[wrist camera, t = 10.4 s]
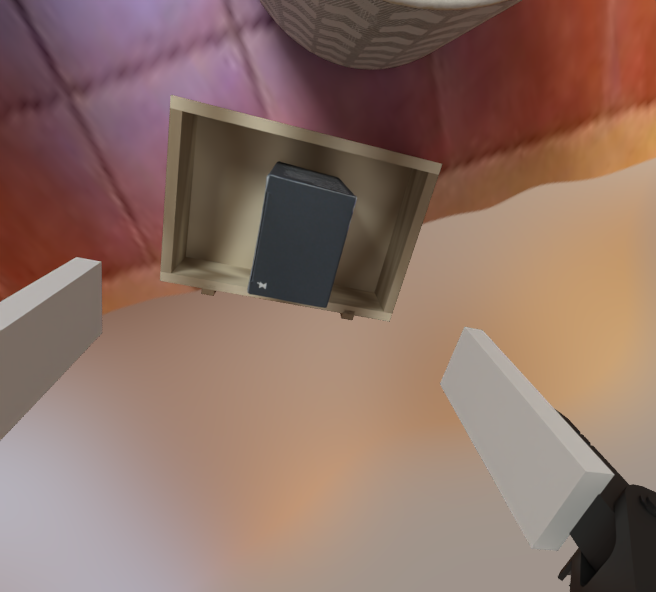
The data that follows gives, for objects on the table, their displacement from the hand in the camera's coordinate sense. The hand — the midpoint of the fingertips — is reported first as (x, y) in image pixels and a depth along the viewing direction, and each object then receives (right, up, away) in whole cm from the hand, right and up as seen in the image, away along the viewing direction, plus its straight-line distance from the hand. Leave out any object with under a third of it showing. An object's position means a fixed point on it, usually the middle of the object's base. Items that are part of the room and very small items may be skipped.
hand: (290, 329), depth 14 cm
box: (-1, +9, +19) cm, 21 cm away
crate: (-2, +9, +20) cm, 22 cm away
